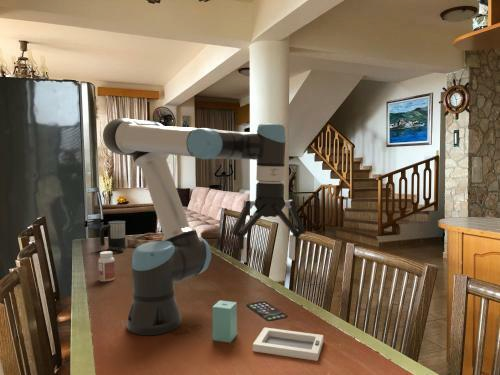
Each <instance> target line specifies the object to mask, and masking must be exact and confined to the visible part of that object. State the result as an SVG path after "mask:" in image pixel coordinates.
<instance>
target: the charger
mask: <svg viewBox="0 0 500 375" xmlns="http://www.w3.org/2000/svg"><path fill="white" fill-rule="evenodd" d="M237 305H238V302H236V301H228V300H218V301H217V302H216V303H215V304H214V305H213V306H212V307H211V309H212V340H213V341H217V342H224V343H231V342H232V341H233V340H234V339H235V338H236V336H237V335H238V312H237V311H238V307H237Z"/></svg>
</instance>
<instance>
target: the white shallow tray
mask: <svg viewBox="0 0 500 375" xmlns="http://www.w3.org/2000/svg"><path fill="white" fill-rule="evenodd" d="M323 344H324V335H323V334H316V333H309V332H301V331H295V330H294V331H293V330H288V329H287V330H286V329H279V328H273V327H271V328H270V327H266V326H265V327H263V329H262V330H261V332H260V333H259V334H258V336H257V337H256V339H255V340H254V342H253V343H252V351H253V352H257V353H262V354H263V353H265V354H269V355H271V354H272V355H275V356H276V355H277V356H284V357H289V358H297V359H304V360H309V361H316V362H317V361H318V360H319V357H320V355H321V351H322V348H323Z"/></svg>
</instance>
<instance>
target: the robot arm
mask: <svg viewBox="0 0 500 375" xmlns="http://www.w3.org/2000/svg"><path fill="white" fill-rule="evenodd" d="M256 130H257V131H254V132H249V131H248V132H247V131H233V130H232V131H230V130H221V129H215V128H210V127H209V128H208V127H201V128H200V127H199V128H197V127H181V126H165V125H163V124H162V123H160V122H156V121H153V120H143V119H134V118H133V119H132V118H125V117H121V118H120V117H119V118H116V119H112V120H111V121H109V122H107V124H106V125H105V127H104V129H103V130H102V131H103V132H102V140H103V141H102V142H103V143H104V145H105V147H106V148H107V149H108V150H109V151H111V152H112V153H114V154H116V155H120V156H131V157H132V160H133V163H134V165H135V166H137V167H139V168H140V169H141V172H142V174H143V177H144V180H145V183H146V186H147V189H148V192H149V196H150V198H151V202H152V204H153V208H154V210H155V214H156V216H157V219H158V223H159V225H160V228H161V232H162V234H164V237H163V239H162V241H155V242H148V243H145V244H142V245H140V246H138V247H135V249H134V250H133V252H132V261H131V267H132V268H131V269H132V271H131V272H132V303H131V306H130V308H129V311H128V315H127V319H126V329H127V331H128V332H130V333H132V334H134V335H140V336H157V335H162V334H165V333H170V332H172V331H174V330H176V329H177V328H179V327H180V326H181V324H182V315H181V312H180V309H179V308H180V307H179V306H178V302H177V300H176V296H175V283H179V282H181V281H185V280H186V279H190V278H194V277H196V276H198V275H199V274H202V273H203V272H205V271H206V270H207V269H208V267H209V266H210V262H211V259H212V251H211V246H210V244H209V243H208V241H206V240H205V239H204V238H203V237H199V236H198V232H197V230H196V229H195V228H193V227H191V226H190V224H189V220H188V218H187V216H186V212H185V210H184V206H183V204H182V201H181V198H180V196H179V192H178V188H177V187H176V183H175V181H174V178H173V174H172V172H171V170H170V165H169V163H168V160H167V159H168V158H169V155H174V156H182V157H192V158H193V157H194V158H196V159H201V160H215V159H217V160H253V161H255V160H256V177H255V178H256V179H255V180H256V181H257V183H256V184H255V199H254V200H248V199H245V200H244V201H243V208H242V209H241V211H240V214H239V216H238V217H237V219H236V221H235V223H234V225H233V227H232V228H231V234H232V235H234V236H236V237H237V248H238V249H239V250H241V256H240V258H241V261H242V262H243V263H247V257H248V256H247V253H248V252H247V250H248V249H247V248H248V246H247V245H248V242H247V241H248V238H247V237H246V235H247V234H248V233H249V231H250V230H251V229H252V228H253V227H254V225H255V224H256V223H257V222H258V220H259V219H262V217H264V218H268V217H272V218H277V217H279V219H281V221H282V222H283V224H284V225H285V227H286V228H288V229H287V230H289V231H290V233H291V234H289V240H288V242H289V243H288V258H289V259H290V260H291V261H296V259H295V258H296V248H298V247H299V237H301V235H305V233H306V232H307V231H306V229H305V226H304V224H303V222H302V220H301V217H300V215H299V213H298V211H297V209H296V201H295V200H294V199H288V200H285V184H284V181H285V168H286V167H285V162H286V161H285V160H286V159H285V158H286V143H287V139H286V138H287V137H286V127H285V126H284V125H283V124H280V123H261V124H258V125H257V129H256ZM253 206H254V207H255V208H256V210H255V211H254V212H253V214H252V215H251V217H250V218H249V220H247V222H246V223H245V224H244V222H245V220H246V218H247V216H248V214H249V213H250V210H251V209H252V208H253ZM285 206H286V208H287V209H288V211H289V213H290V215H291V217H292V220H293V222H294V224H295V225H293V223H292V222H291V221H290V219H289V218H288V217H287V215H286V214H285V212H284V211H283V209H284V207H285ZM243 224H244V225H243ZM242 226H243V227H242ZM295 226H296V227H295Z"/></svg>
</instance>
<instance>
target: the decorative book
mask: <svg viewBox="0 0 500 375" xmlns="http://www.w3.org/2000/svg"><path fill="white" fill-rule="evenodd" d="M162 234H163V233H158V235H153V236H144V240H148V241H162V239H163V237H164V235H162Z"/></svg>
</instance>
